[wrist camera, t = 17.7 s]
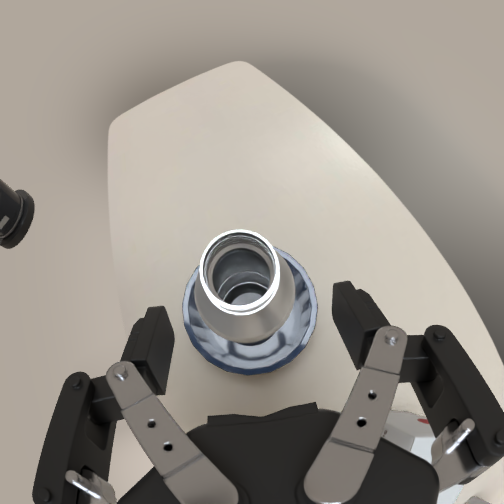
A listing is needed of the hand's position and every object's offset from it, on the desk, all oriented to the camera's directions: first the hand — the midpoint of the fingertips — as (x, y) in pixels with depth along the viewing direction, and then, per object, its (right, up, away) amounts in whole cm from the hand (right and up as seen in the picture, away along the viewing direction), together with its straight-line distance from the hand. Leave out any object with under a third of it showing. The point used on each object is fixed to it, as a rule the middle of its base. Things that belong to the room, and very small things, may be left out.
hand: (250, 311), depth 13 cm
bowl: (0, -5, +19) cm, 20 cm away
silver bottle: (0, -5, +19) cm, 19 cm away
